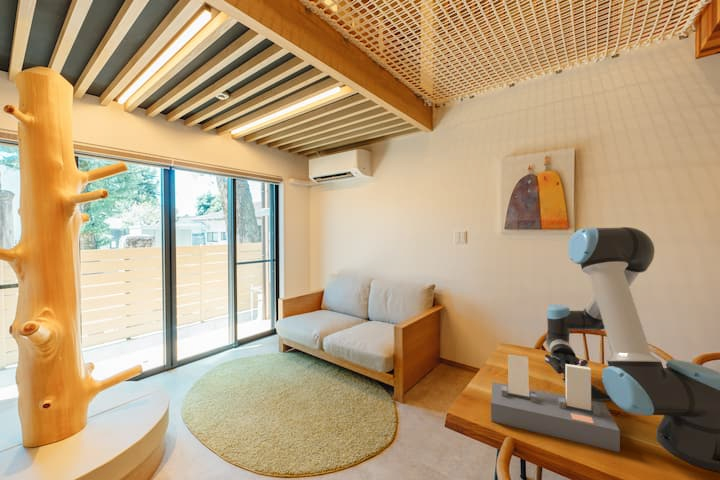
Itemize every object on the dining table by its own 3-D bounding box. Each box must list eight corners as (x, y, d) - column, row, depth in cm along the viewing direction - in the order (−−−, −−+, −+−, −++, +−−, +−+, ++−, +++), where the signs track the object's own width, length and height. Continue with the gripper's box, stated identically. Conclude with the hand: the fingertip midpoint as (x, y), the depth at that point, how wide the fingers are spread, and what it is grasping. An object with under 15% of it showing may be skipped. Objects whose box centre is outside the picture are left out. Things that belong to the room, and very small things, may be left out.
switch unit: (492, 398, 107) (492, 376, 107) (603, 421, 93) (604, 396, 93) (491, 421, 95) (491, 396, 94) (619, 452, 81) (620, 423, 80)
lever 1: (508, 392, 100) (507, 354, 104) (528, 396, 97) (527, 357, 101) (508, 392, 98) (508, 354, 102) (529, 396, 95) (528, 357, 99)
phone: (592, 399, 104) (561, 378, 119) (592, 403, 104) (561, 380, 119) (614, 398, 104) (579, 376, 119) (614, 401, 104) (579, 379, 119)
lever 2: (565, 402, 92) (565, 363, 93) (589, 407, 90) (589, 367, 90) (566, 405, 91) (566, 366, 91) (591, 410, 88) (590, 369, 88)
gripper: (583, 366, 110) (601, 399, 89) (542, 359, 116) (550, 389, 95) (583, 346, 110) (602, 374, 89) (542, 340, 116) (550, 366, 94)
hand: (575, 382), depth 92 cm, fingers closed
